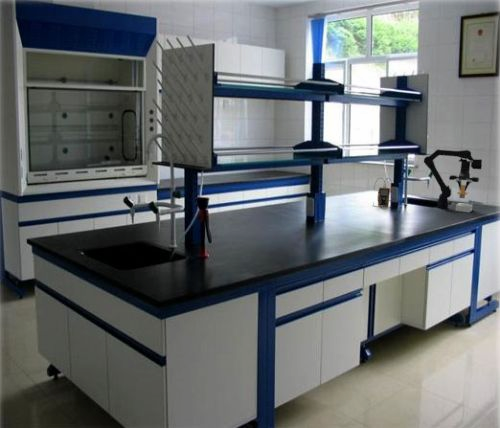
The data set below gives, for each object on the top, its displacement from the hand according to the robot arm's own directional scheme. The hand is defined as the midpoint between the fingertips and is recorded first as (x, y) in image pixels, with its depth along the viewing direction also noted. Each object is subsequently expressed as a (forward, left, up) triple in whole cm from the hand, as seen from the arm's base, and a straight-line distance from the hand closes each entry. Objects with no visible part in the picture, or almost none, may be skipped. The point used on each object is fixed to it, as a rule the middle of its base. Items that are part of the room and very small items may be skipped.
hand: (462, 190), depth 387 cm
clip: (+9, -1, -9) cm, 13 cm away
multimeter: (-47, -27, -13) cm, 56 cm away
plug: (0, 0, -5) cm, 5 cm away
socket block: (+2, -3, -13) cm, 14 cm away
